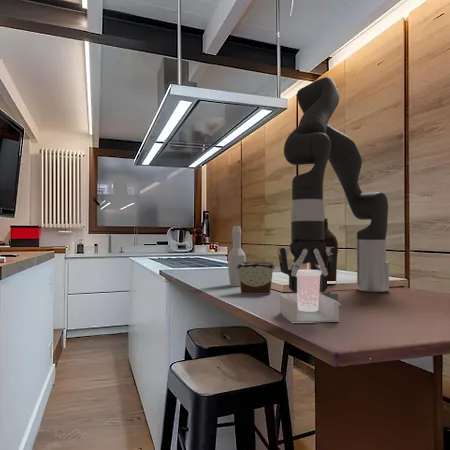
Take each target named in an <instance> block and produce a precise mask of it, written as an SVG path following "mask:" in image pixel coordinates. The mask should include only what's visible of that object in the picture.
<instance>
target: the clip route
mask: <svg viewBox="0 0 450 450" xmlns="http://www.w3.org/2000/svg"><path fill="white" fill-rule="evenodd" d="M321 294H323V295H325V296H327V297H329V298H331V299H334V300H336V301H338V302H339V293H338V292H337V293H336V292H335V293H334V292H333V293H332V292H331V291H325V292H321ZM341 306H342V303H340V302H339V307H341Z"/></svg>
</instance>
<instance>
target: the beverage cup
mask: <svg viewBox="0 0 450 450" xmlns="http://www.w3.org/2000/svg"><path fill="white" fill-rule="evenodd" d="M320 275H321V271H320V270H311V269H310V263H306V269H304V268H303V269H298V272H297V274H296V277H297V293H296V294H297V300H298V310H300V311H305V312H315V311H318V306H319V294H320V291H319V289H320Z"/></svg>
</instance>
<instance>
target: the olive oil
mask: <svg viewBox="0 0 450 450" xmlns="http://www.w3.org/2000/svg"><path fill="white" fill-rule="evenodd" d="M328 219H329V218H326V217H325V219H324V243H325V245H326V247H336V248H339V244H338V243H339V242H338V239H337V237H336V235H335V234H334V233H333V232H332V231H331V230H330V229H329V226H328V225H329V220H328ZM321 258H322V260H323V262H324V264H325V268H327V261H328V256H327V254H326V251H325V252H324V254H323V255H322V257H321ZM337 268H338V261H337V262H336V270H335V272H334V273H331V274H329V275H328V276H327V281H336V282H337V274H338V273H337V272H338V271H337V270H338V269H337ZM309 269H311V270H318V269H317V267H316V266H315V265H314V264H312V263H309Z"/></svg>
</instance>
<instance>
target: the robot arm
mask: <svg viewBox="0 0 450 450" xmlns="http://www.w3.org/2000/svg"><path fill="white" fill-rule="evenodd" d="M296 100H297V103H298V105H299V107H300V110H301V111H302V114H303V115H302V116H301V118H300V120H299V123H298V126H297V127H296V128H294V130H293V131H292V132H290V134H289V135H288V136H287V138H286V139H285V142H284V147H283V155H284V158H285V160H286V161H287V162H288V163H289V164H291V165H293V166H303V165H313V166H312V168H311V170H309V171H307V172H305V173H301V174H300V173H299V174H297V175H295V176H294V177H293V178H292V181H291V183H292V184H291V196H292V197H291V200H292V201H291V202H292V203H291V211H290V215H291V217H290V229H291V230H290V231H291V232H290V235H291V236H290V240H291V242H290V245H289V246H286V247H282V246H281V247H278V248H277V253H278V254H277V255H278V261H279V267H280V272H281V273H282V274H284V275H287V276H288V289H289V290H291V293H293V294H297V277H296V274H297V272H298V270H300V268H301V266H302V264H303V265H304V264H306V265H307V263H309V264H310V263H312V264H314V265H315V266H316V267H317V269H318V270H320V271H321V275H320V289H319V293H322V292H326V290H327V289H328V285H327V276H328V275H329V274H331V273H334V272H335V270H336V262H337V263H338V252H339V249H338V248H339V247H338V248H336V247H326V245H325V243H324V219H325V218H326V215H325V206H324V177H325V172H326V167H327V164H328V161H329V164H330V165H331V167H332V169H333V171H334V173H335V174H336V176H337V179H338V180H339V183H340V184H341V187H342V189H343V191H344V194H345V198H346V200H347V202H348V205H349V208H350V210H351V212H352V215H354V217H355V218H356V219H358V220H362V221H365V220H366V221H367V220H368V221H370V223H369V224H368V226H366V227H365V228H362V229H359V230H358V231H357V233H356V287H357V288H356V289H357V290H358V291H362V292H369V293H370V292H372V293H377V292H378V293H379V292H382V293H384V292H388V291H390V275H389V274H390V268H389V267H390V264H389V262H388V261H387V232H388V219H389V218H388V217H389V216H388V215H389V214H388V213H389V201H388V198H387V195H386V194H385V193H384V192H382V191H374V192H363V191H362V190H361V188H360V184H359V177H360V174H361V169H362V165H363V160H362V156H361V154H360V151H359V149H358V147H357V145H356V143H355V141H354V139H352V138H351V137H349V136H348V135H346V134H345V133H344V132H341V131H339V130H337V129H335V128H334V127H333V126H331V125H330V124H329V121H330V119H331V117H332V116H333V114H334V112H335V111H336V109H337V108H338V105H339V102H340V93H339V89H338V87H337V85H336V83H335V81H334V79H332V78H331V77H329V76H324V77H322V78H319V79H317V80H315V81H313V82H311V83H309V84H307V85H305V86H303V87H302V88H299V90H298V91H297V92H296ZM325 251H326V254H327V256H328V261H327V268H325V264H324V262H323V260H322V258H321V257H322V255H323V254H324V252H325ZM289 253H291V254H292V256H293V259H292V260H291V263H290V264H291V265H290V268H289V266H288V256H290V255H289Z"/></svg>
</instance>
